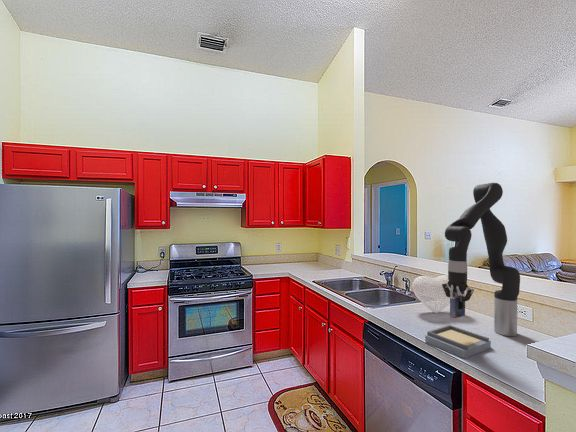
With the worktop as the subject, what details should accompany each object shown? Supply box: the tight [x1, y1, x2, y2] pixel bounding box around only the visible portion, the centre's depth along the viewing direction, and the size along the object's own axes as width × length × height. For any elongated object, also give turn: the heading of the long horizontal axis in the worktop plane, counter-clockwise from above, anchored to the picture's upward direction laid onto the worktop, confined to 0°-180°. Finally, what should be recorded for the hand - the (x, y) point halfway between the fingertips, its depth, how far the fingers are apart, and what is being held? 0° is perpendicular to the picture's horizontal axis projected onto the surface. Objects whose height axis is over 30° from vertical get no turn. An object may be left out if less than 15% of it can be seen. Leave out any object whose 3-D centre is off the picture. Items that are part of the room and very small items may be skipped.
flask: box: [449, 292, 466, 319], centre depth 134 cm, size 9×3×11 cm, turn 117°
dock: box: [424, 324, 492, 359], centre depth 134 cm, size 20×18×4 cm
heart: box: [411, 274, 451, 314], centre depth 177 cm, size 28×16×22 cm, turn 98°
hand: (457, 308), depth 134 cm, fingers closed on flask, 3 cm apart
